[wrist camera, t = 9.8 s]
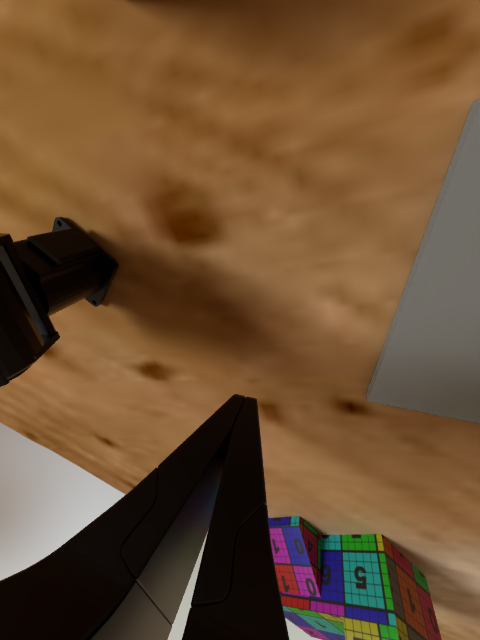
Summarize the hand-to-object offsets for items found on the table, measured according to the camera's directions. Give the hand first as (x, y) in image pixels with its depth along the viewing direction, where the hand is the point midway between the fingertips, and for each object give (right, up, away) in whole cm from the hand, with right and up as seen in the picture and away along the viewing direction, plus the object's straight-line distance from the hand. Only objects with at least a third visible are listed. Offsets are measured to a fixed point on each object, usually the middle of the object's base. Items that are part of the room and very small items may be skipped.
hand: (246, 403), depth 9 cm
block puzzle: (+13, -34, +31) cm, 48 cm away
